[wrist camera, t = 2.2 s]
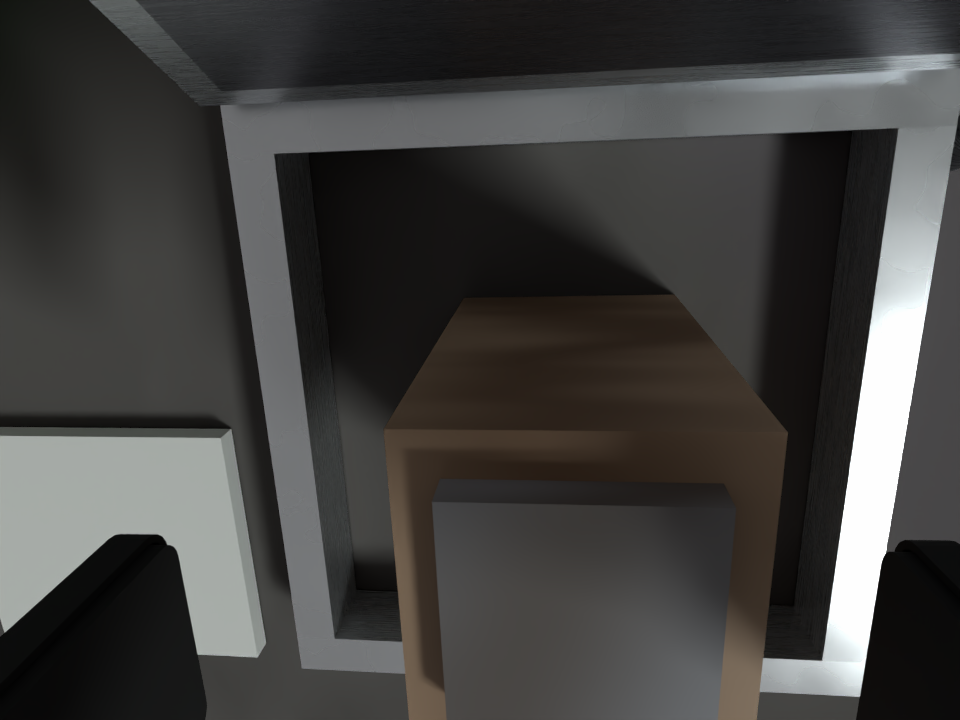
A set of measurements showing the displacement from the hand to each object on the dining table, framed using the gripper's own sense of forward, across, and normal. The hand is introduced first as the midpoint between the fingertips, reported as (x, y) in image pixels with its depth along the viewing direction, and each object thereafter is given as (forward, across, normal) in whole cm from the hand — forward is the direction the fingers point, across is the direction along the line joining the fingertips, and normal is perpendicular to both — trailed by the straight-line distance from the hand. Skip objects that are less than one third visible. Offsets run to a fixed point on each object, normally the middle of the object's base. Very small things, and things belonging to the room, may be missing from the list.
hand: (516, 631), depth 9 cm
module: (+8, -1, 0) cm, 8 cm away
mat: (+9, +12, +4) cm, 15 cm away
